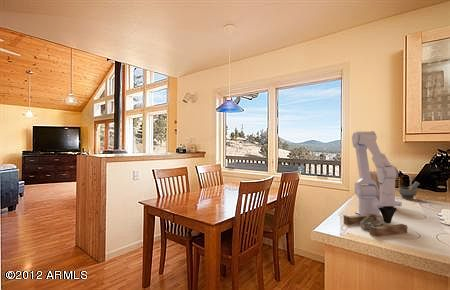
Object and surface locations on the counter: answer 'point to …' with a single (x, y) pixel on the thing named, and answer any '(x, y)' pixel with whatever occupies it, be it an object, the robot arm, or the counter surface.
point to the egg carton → (370, 223)
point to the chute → (377, 230)
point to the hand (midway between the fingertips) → (387, 222)
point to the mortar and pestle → (409, 191)
